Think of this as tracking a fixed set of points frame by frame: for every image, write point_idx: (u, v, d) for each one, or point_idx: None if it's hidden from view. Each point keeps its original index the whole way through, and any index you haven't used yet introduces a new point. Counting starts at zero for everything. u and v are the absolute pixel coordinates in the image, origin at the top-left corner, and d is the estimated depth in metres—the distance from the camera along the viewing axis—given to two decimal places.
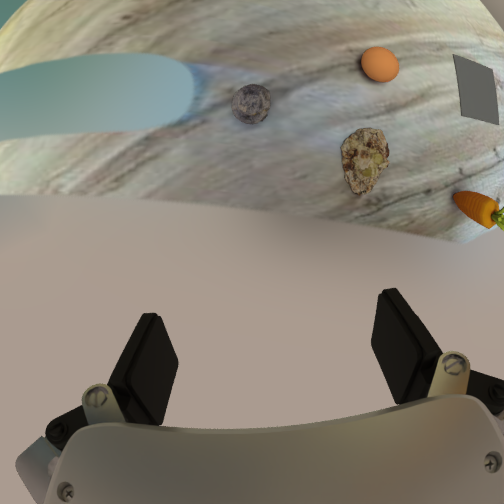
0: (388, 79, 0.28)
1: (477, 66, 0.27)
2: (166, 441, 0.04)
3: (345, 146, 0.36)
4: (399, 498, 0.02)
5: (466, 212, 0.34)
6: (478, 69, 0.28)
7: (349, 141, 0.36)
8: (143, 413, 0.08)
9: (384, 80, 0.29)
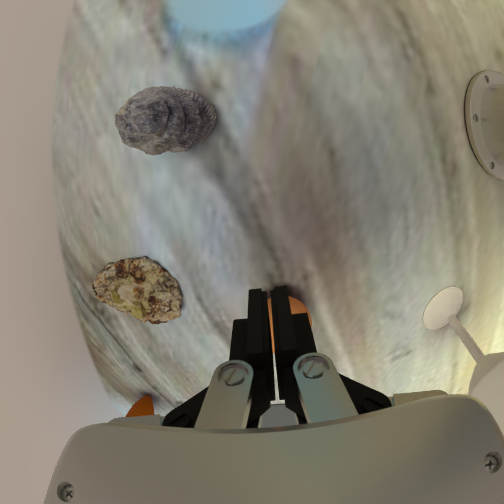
0: None
1: None
2: (166, 442, 0.04)
3: (146, 264, 0.26)
4: (399, 498, 0.02)
5: None
6: None
7: (154, 269, 0.26)
8: (267, 388, 0.09)
9: None
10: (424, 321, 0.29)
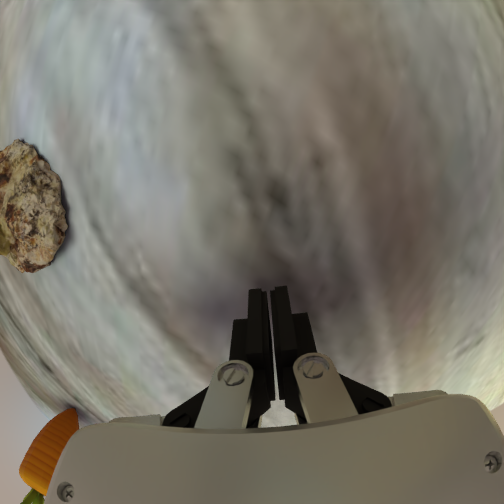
0: None
1: None
2: (167, 441, 0.04)
3: (16, 149, 0.10)
4: (399, 498, 0.02)
5: (36, 439, 0.14)
6: None
7: (24, 156, 0.10)
8: (267, 388, 0.09)
9: None
10: None
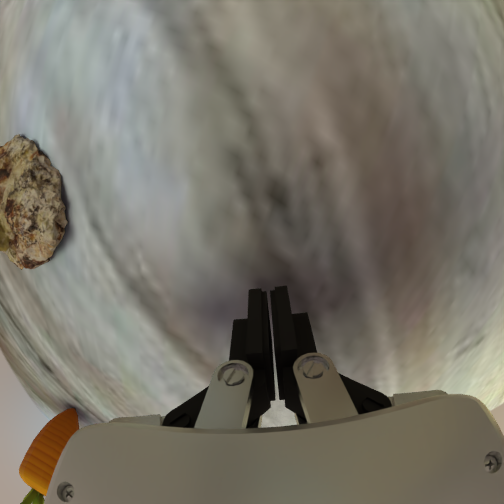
0: None
1: None
2: (167, 441, 0.04)
3: (17, 144, 0.09)
4: (399, 498, 0.02)
5: (36, 439, 0.14)
6: None
7: (25, 151, 0.10)
8: (267, 388, 0.09)
9: None
10: None
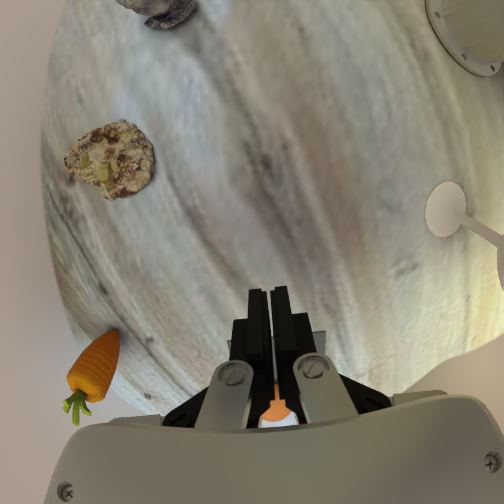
0: None
1: None
2: (166, 441, 0.04)
3: (123, 125, 0.22)
4: (399, 498, 0.02)
5: (85, 350, 0.26)
6: None
7: (130, 129, 0.22)
8: (267, 388, 0.09)
9: None
10: (427, 223, 0.26)
